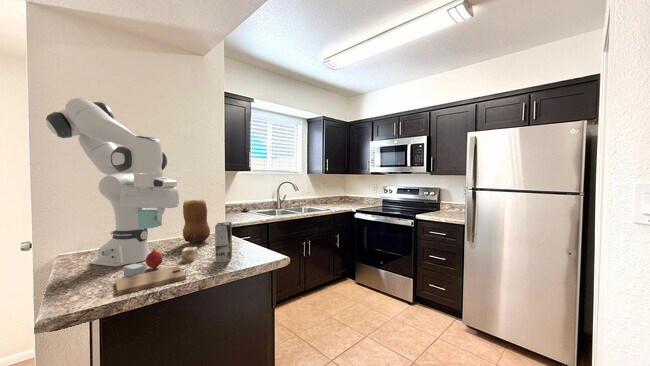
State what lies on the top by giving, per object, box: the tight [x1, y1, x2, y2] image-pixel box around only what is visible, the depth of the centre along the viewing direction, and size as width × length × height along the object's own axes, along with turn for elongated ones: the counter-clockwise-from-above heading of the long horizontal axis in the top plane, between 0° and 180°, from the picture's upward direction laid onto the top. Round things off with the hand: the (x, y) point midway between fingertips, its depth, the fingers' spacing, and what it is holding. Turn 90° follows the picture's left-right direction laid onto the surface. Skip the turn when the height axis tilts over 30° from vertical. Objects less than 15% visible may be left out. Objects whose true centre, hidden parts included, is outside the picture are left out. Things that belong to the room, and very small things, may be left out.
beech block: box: [181, 246, 199, 263], centre depth 120 cm, size 5×5×5 cm
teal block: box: [138, 208, 163, 229], centre depth 95 cm, size 5×5×6 cm
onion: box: [145, 249, 163, 270], centre depth 109 cm, size 6×6×8 cm
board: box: [115, 266, 187, 296], centre depth 96 cm, size 20×12×2 cm, turn 131°
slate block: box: [123, 263, 146, 278], centre depth 101 cm, size 6×4×4 cm, turn 66°
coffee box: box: [214, 221, 233, 263], centre depth 121 cm, size 9×6×16 cm
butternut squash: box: [182, 198, 211, 245], centre depth 146 cm, size 14×13×25 cm
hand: (149, 220), depth 95 cm, fingers closed on teal block, 5 cm apart
